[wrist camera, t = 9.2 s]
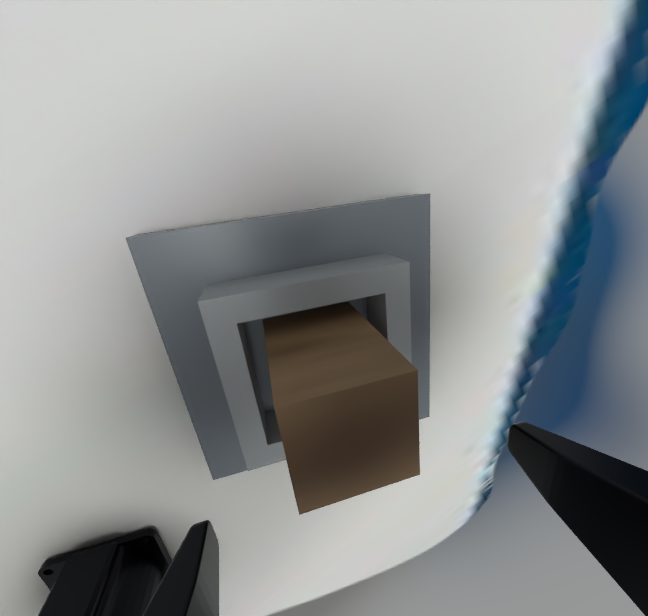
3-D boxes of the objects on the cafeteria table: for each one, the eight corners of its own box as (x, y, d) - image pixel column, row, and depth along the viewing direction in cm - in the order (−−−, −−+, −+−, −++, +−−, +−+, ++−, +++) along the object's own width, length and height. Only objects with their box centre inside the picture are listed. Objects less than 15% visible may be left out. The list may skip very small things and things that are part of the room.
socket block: (417, 402, 21) (452, 444, 18) (215, 459, 19) (208, 522, 15) (414, 194, 16) (463, 192, 12) (137, 234, 14) (97, 246, 10)
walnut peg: (355, 373, 17) (419, 474, 11) (279, 393, 16) (299, 514, 10) (347, 301, 16) (417, 370, 9) (262, 319, 15) (274, 408, 8)
